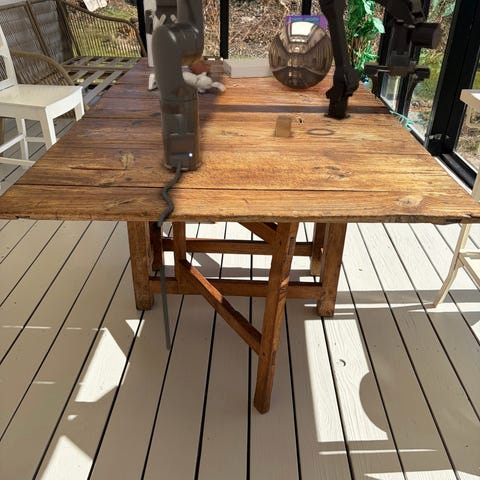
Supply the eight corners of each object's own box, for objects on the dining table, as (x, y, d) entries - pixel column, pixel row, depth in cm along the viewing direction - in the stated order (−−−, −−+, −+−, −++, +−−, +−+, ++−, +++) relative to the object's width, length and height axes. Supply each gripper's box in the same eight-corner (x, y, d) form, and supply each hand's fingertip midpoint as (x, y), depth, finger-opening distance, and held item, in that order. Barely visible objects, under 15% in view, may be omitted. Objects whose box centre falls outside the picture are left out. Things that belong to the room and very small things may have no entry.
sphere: (332, 84, 199) (340, 18, 186) (325, 99, 179) (333, 26, 166) (274, 79, 205) (277, 15, 192) (260, 93, 184) (263, 23, 171)
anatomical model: (204, 86, 208) (191, 72, 218) (219, 73, 207) (206, 59, 217) (188, 66, 199) (175, 52, 208) (204, 52, 198) (190, 38, 207)
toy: (168, 102, 172) (167, 83, 168) (144, 87, 190) (143, 69, 186) (228, 94, 182) (228, 76, 179) (199, 80, 201) (199, 63, 197)
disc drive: (281, 76, 210) (281, 64, 208) (231, 78, 206) (231, 66, 203) (269, 68, 225) (270, 57, 222) (223, 70, 220) (223, 58, 218)
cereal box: (285, 75, 212) (289, 16, 200) (282, 73, 216) (285, 15, 204) (321, 73, 216) (327, 15, 204) (317, 71, 220) (322, 14, 208)
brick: (277, 131, 146) (278, 115, 144) (290, 132, 146) (292, 116, 143) (275, 136, 142) (276, 120, 140) (288, 137, 142) (290, 121, 139)
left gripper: (137, -15, 122) (143, 52, 130) (190, -14, 119) (193, 55, 127) (149, -16, 128) (154, 48, 136) (199, -15, 125) (201, 50, 133)
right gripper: (367, 47, 132) (359, 104, 140) (438, 51, 129) (426, 109, 137) (367, 41, 141) (359, 95, 149) (433, 44, 138) (421, 99, 146)
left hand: (173, 51), depth 132 cm, fingers open, 8 cm apart
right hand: (391, 99), depth 145 cm, fingers open, 9 cm apart
